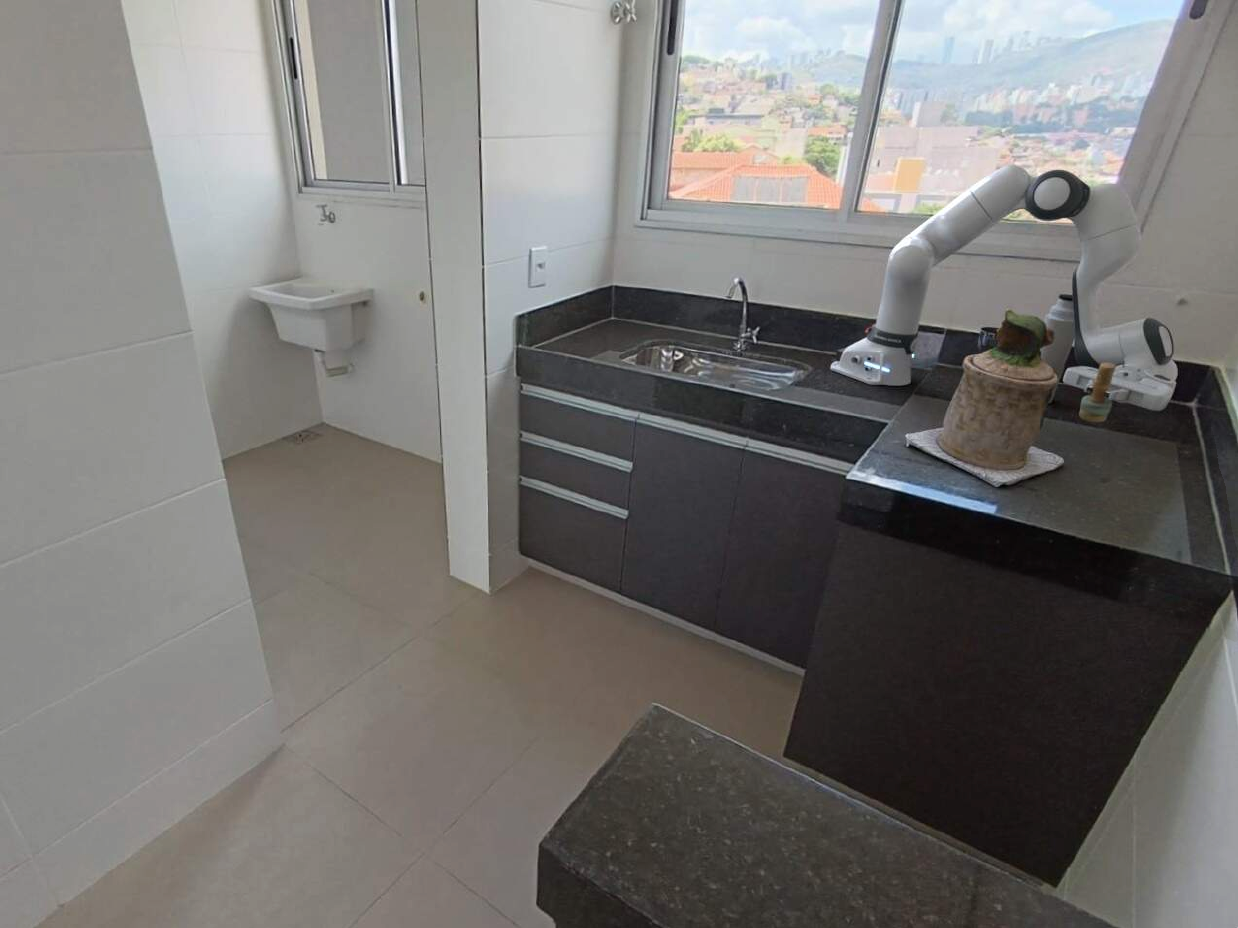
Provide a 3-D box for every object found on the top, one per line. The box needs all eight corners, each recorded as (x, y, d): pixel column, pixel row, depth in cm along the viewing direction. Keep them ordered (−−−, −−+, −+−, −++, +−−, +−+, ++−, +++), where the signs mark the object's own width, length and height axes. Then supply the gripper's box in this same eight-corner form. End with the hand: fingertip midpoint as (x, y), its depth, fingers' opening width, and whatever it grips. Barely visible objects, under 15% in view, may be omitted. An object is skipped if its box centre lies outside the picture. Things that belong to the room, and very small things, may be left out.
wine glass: (959, 378, 197) (974, 328, 190) (979, 376, 200) (994, 326, 193) (982, 387, 191) (998, 335, 184) (1002, 385, 194) (1018, 334, 187)
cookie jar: (1002, 491, 135) (1057, 335, 120) (898, 444, 153) (935, 303, 138) (1066, 466, 147) (1123, 321, 132) (963, 425, 165) (1003, 293, 151)
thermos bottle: (1045, 394, 188) (1081, 293, 175) (1056, 405, 181) (1094, 300, 168) (1015, 391, 189) (1048, 291, 176) (1024, 401, 182) (1059, 297, 169)
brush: (1074, 418, 151) (1089, 367, 145) (1081, 408, 154) (1096, 357, 148) (1103, 425, 148) (1120, 372, 141) (1110, 414, 151) (1127, 363, 144)
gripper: (1085, 356, 160) (1054, 364, 154) (1185, 384, 145) (1155, 393, 138) (1076, 382, 163) (1045, 390, 157) (1173, 411, 148) (1143, 422, 141)
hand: (1098, 392), depth 147 cm, fingers closed on brush, 3 cm apart
